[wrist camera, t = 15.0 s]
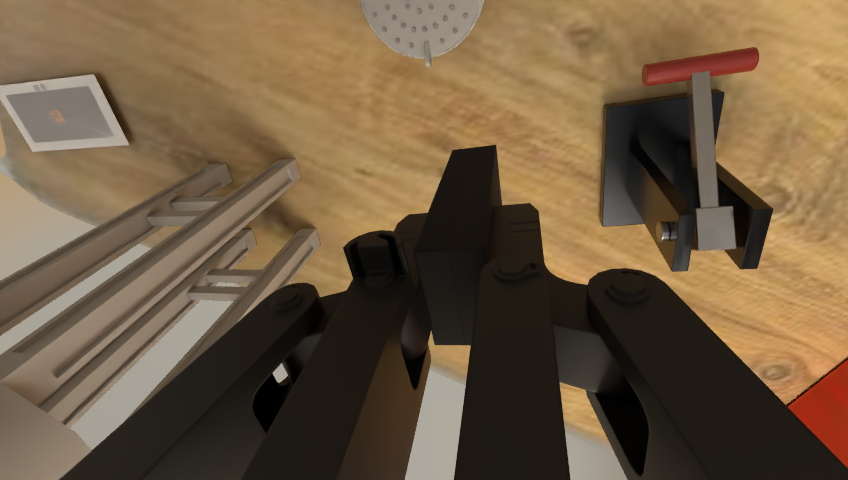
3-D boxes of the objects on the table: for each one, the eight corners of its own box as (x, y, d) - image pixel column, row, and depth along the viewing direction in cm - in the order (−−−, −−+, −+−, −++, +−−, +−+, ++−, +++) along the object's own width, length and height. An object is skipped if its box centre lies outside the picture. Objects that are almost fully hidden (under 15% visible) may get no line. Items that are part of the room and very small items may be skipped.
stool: (187, 148, 47) (-348, 400, 18) (307, 139, 44) (-115, 435, 14) (235, 257, 55) (-84, 559, 26) (339, 257, 51) (108, 606, 22)
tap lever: (639, 72, 29) (648, 58, 27) (743, 55, 27) (763, 39, 25) (650, 251, 29) (661, 252, 27) (756, 245, 27) (776, 247, 25)
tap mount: (603, 104, 36) (650, 161, 24) (717, 88, 34) (835, 143, 22) (599, 220, 42) (635, 314, 30) (696, 213, 40) (779, 312, 27)
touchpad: (136, 142, 48) (121, 147, 46) (41, 148, 51) (24, 154, 50) (102, 72, 44) (84, 75, 42) (2, 84, 47) (-18, 88, 46)
